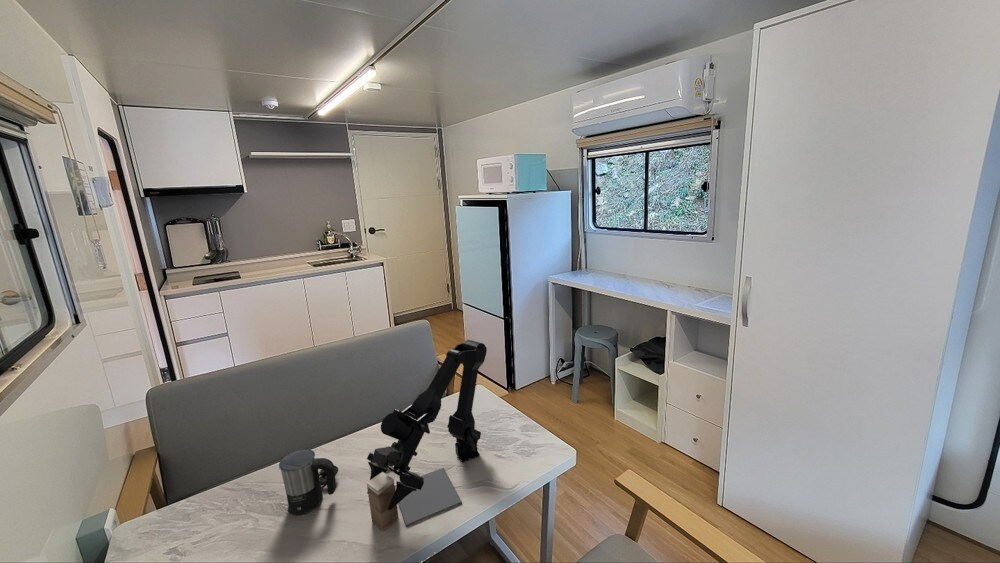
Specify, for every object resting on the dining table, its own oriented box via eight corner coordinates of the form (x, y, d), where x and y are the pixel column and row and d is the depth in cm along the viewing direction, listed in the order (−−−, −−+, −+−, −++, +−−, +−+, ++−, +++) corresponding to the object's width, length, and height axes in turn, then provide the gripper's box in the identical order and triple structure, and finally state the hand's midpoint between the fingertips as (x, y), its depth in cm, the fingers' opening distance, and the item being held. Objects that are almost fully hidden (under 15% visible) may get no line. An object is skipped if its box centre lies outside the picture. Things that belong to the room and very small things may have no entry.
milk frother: (286, 521, 105) (277, 474, 102) (290, 483, 119) (282, 442, 116) (341, 502, 111) (334, 457, 108) (339, 468, 125) (332, 428, 122)
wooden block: (387, 509, 107) (382, 471, 104) (398, 518, 104) (393, 479, 101) (372, 522, 103) (366, 482, 101) (383, 531, 100) (377, 490, 98)
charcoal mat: (443, 469, 122) (443, 467, 122) (461, 503, 108) (461, 501, 108) (393, 487, 115) (393, 486, 115) (406, 526, 101) (405, 524, 101)
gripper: (368, 424, 107) (337, 481, 101) (411, 448, 96) (378, 514, 90) (394, 435, 115) (366, 488, 109) (436, 458, 104) (408, 520, 98)
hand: (378, 501), depth 101 cm, fingers open, 9 cm apart
